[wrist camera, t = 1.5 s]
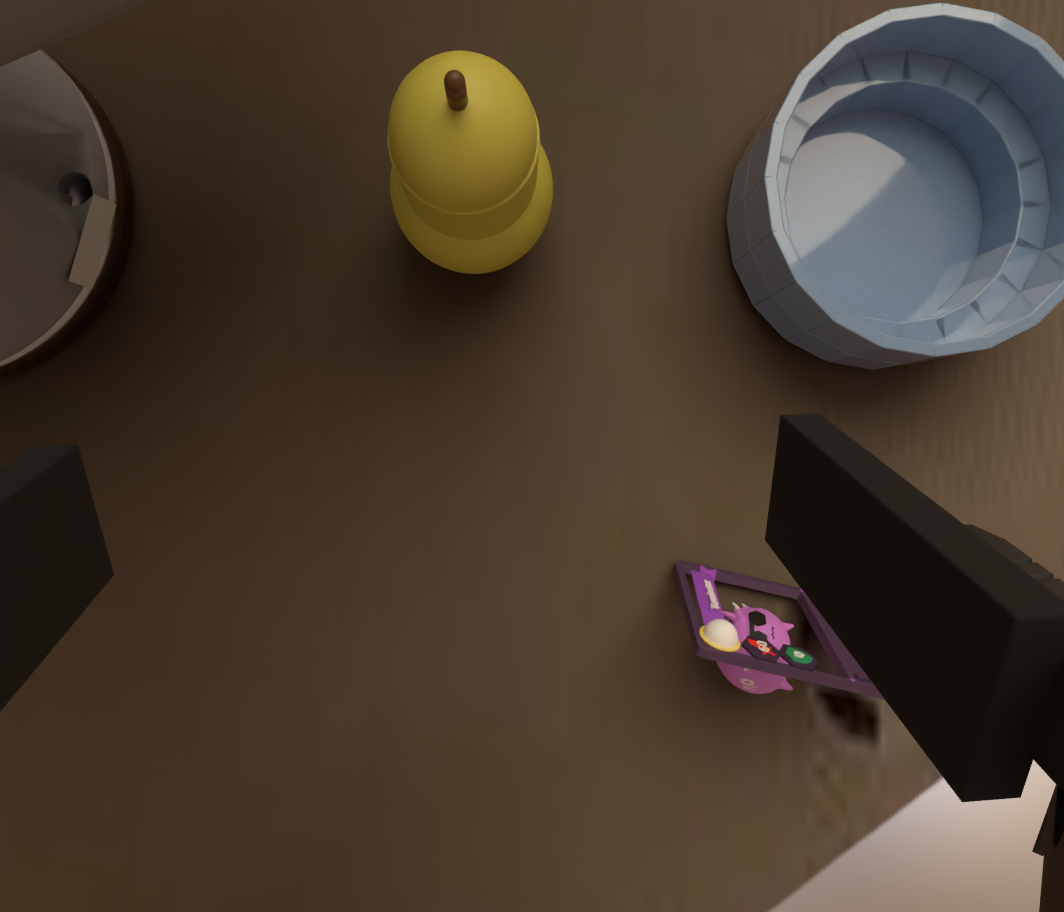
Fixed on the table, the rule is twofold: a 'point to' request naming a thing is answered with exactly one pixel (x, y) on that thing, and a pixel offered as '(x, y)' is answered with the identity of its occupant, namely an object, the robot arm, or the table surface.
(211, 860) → the table surface
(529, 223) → the pear
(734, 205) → the bowl
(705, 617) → the game card
